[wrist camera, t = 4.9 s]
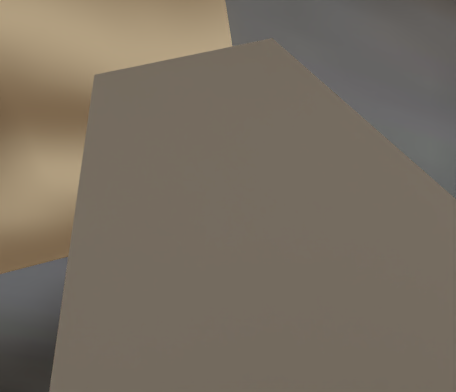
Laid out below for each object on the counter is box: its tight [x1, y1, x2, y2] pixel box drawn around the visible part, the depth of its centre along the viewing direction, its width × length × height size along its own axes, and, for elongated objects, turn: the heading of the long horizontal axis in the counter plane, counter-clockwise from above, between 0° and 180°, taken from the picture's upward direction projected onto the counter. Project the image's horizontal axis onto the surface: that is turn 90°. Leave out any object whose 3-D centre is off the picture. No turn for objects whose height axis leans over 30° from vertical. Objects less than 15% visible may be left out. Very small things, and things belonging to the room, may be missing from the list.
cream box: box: [49, 38, 456, 392], centre depth 7 cm, size 8×4×8 cm, turn 9°
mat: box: [0, 0, 232, 274], centre depth 19 cm, size 14×16×1 cm
